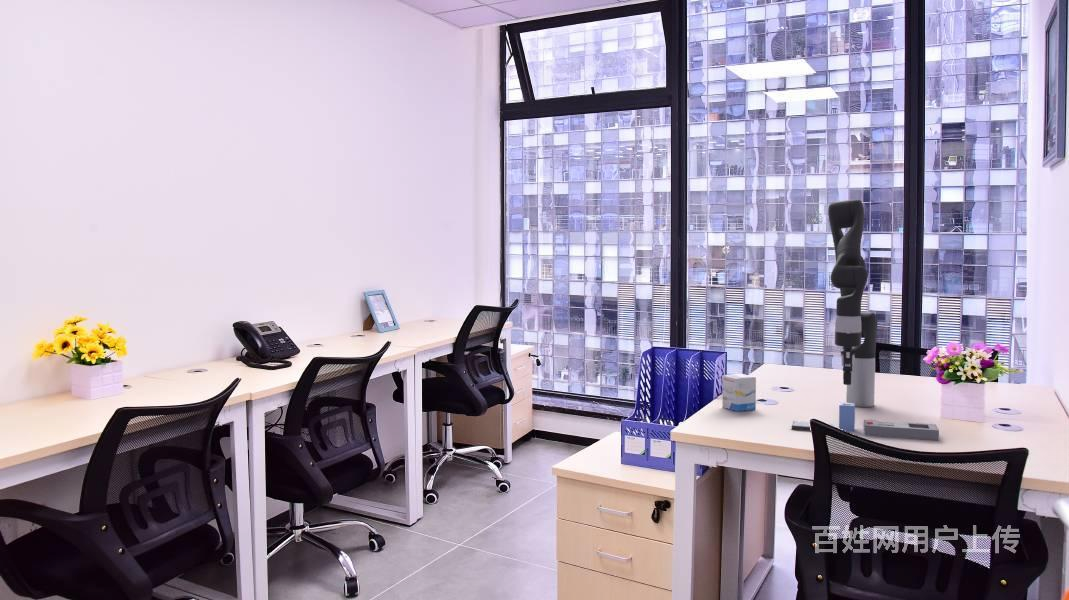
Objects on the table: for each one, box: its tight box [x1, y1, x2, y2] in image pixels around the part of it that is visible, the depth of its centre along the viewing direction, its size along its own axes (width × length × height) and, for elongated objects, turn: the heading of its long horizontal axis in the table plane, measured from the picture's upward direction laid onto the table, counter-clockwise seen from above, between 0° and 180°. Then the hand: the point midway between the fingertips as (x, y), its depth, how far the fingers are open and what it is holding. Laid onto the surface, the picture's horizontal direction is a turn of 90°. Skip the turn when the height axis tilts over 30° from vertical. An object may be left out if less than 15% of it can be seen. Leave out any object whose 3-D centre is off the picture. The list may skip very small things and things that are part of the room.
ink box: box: [721, 373, 757, 412], centre depth 275 cm, size 9×8×12 cm
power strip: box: [863, 419, 940, 441], centre depth 236 cm, size 8×20×4 cm, turn 69°
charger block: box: [838, 401, 856, 433], centre depth 243 cm, size 4×4×8 cm
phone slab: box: [791, 420, 834, 432], centre depth 245 cm, size 7×12×1 cm, turn 69°
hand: (847, 382), depth 242 cm, fingers open, 8 cm apart
